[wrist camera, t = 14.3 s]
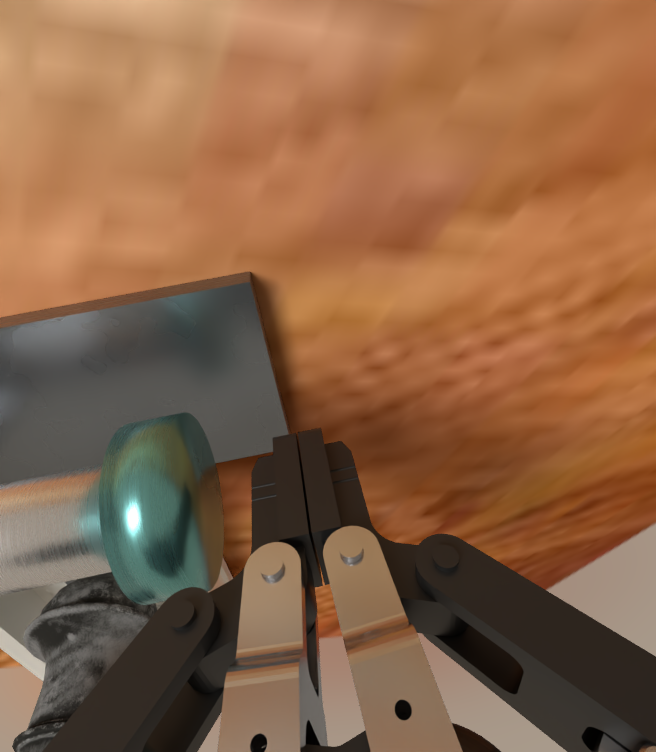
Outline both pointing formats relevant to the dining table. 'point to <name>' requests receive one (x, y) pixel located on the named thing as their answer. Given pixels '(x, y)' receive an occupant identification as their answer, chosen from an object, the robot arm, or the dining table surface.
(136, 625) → the dark grey turned piece
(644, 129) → the dining table surface
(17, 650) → the holder
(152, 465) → the shaft
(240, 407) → the bearing block
